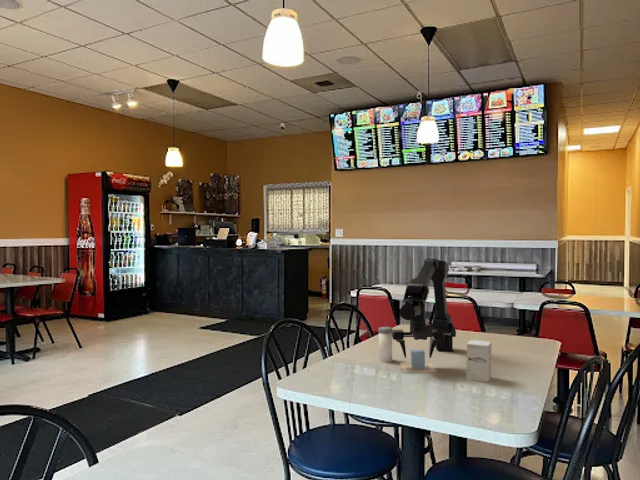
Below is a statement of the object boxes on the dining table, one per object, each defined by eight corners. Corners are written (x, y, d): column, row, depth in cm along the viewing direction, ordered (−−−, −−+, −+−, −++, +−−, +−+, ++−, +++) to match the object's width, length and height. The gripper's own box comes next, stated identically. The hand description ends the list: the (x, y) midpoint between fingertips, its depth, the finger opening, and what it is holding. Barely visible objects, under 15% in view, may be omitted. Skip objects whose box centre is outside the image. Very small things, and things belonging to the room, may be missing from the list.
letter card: (430, 363, 188) (430, 363, 188) (437, 372, 176) (437, 371, 176) (399, 363, 189) (399, 363, 189) (403, 372, 177) (403, 371, 177)
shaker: (394, 359, 194) (394, 327, 194) (390, 363, 189) (389, 330, 189) (381, 358, 197) (381, 326, 196) (376, 361, 192) (376, 328, 191)
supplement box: (466, 380, 167) (465, 343, 167) (470, 374, 174) (470, 339, 174) (488, 383, 164) (488, 345, 164) (491, 377, 170) (491, 341, 170)
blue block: (422, 365, 185) (422, 349, 185) (424, 369, 180) (424, 352, 180) (410, 365, 185) (410, 349, 185) (412, 368, 180) (412, 352, 180)
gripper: (394, 319, 175) (395, 363, 175) (447, 319, 174) (447, 363, 174) (391, 314, 186) (391, 355, 186) (441, 314, 185) (441, 355, 185)
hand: (417, 357), depth 183 cm, fingers open, 9 cm apart
